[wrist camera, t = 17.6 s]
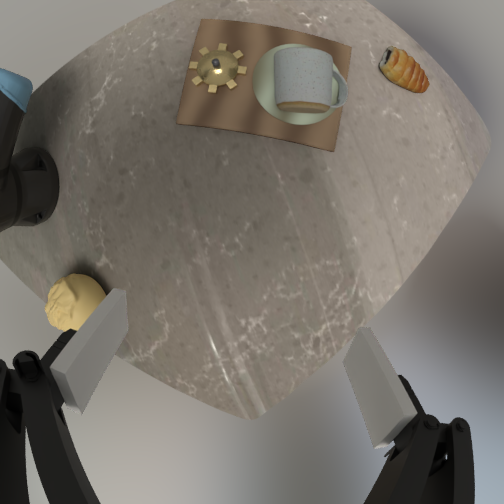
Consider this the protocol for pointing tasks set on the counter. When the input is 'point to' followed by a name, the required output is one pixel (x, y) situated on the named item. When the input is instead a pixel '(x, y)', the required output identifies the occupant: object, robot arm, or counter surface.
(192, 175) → the counter surface
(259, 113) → the gear board
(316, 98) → the ceramic mug
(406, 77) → the pastry
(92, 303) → the sculpture
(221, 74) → the gear
